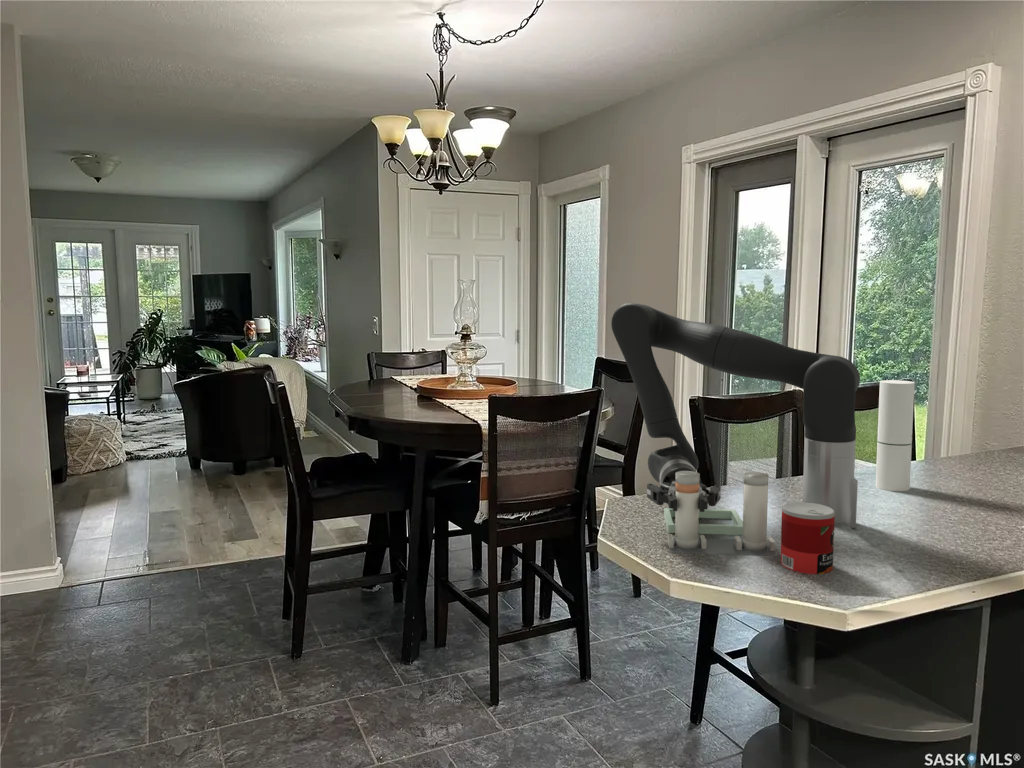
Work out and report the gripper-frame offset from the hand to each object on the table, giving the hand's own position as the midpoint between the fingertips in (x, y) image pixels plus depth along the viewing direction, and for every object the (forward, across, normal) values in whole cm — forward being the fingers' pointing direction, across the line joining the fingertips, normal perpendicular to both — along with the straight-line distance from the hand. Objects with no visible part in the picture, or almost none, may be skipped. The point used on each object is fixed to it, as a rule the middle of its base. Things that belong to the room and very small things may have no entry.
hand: (689, 505), depth 126 cm
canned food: (+5, +18, +10) cm, 21 cm away
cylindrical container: (-53, +52, +10) cm, 75 cm away
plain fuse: (-3, +12, +8) cm, 14 cm away
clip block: (-3, +6, +10) cm, 11 cm away
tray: (-15, +4, +10) cm, 18 cm away
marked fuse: (-3, 0, +8) cm, 8 cm away
